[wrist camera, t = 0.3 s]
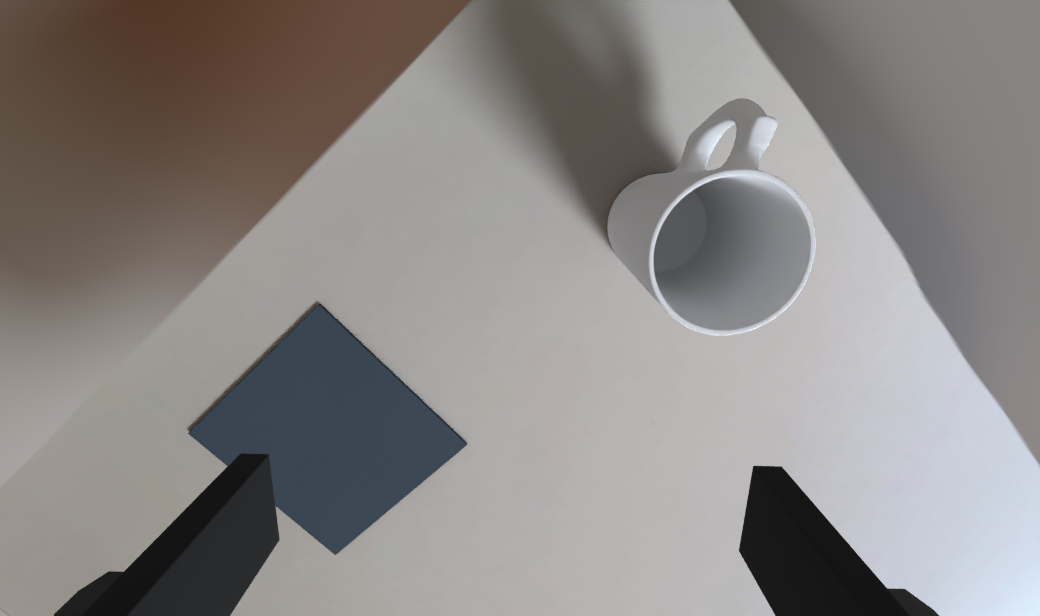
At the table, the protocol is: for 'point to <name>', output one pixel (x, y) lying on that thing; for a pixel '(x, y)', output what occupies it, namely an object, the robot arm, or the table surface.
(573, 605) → the table surface
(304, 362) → the mat
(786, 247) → the mug
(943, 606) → the table surface
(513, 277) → the table surface
